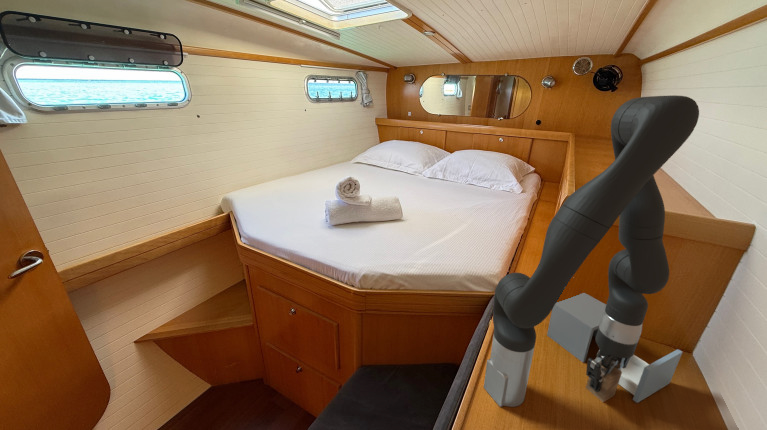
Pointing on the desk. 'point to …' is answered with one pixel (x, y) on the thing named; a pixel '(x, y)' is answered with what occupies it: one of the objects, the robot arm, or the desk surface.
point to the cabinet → (576, 323)
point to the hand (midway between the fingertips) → (602, 384)
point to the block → (606, 385)
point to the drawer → (648, 375)
